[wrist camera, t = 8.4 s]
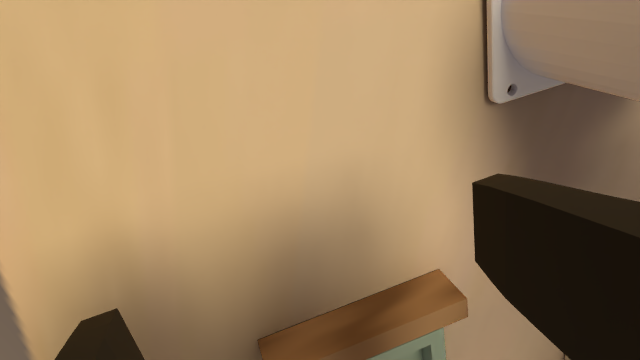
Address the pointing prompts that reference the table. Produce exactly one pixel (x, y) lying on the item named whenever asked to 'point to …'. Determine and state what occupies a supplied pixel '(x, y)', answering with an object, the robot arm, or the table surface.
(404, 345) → the tray
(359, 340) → the rail
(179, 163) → the table surface
